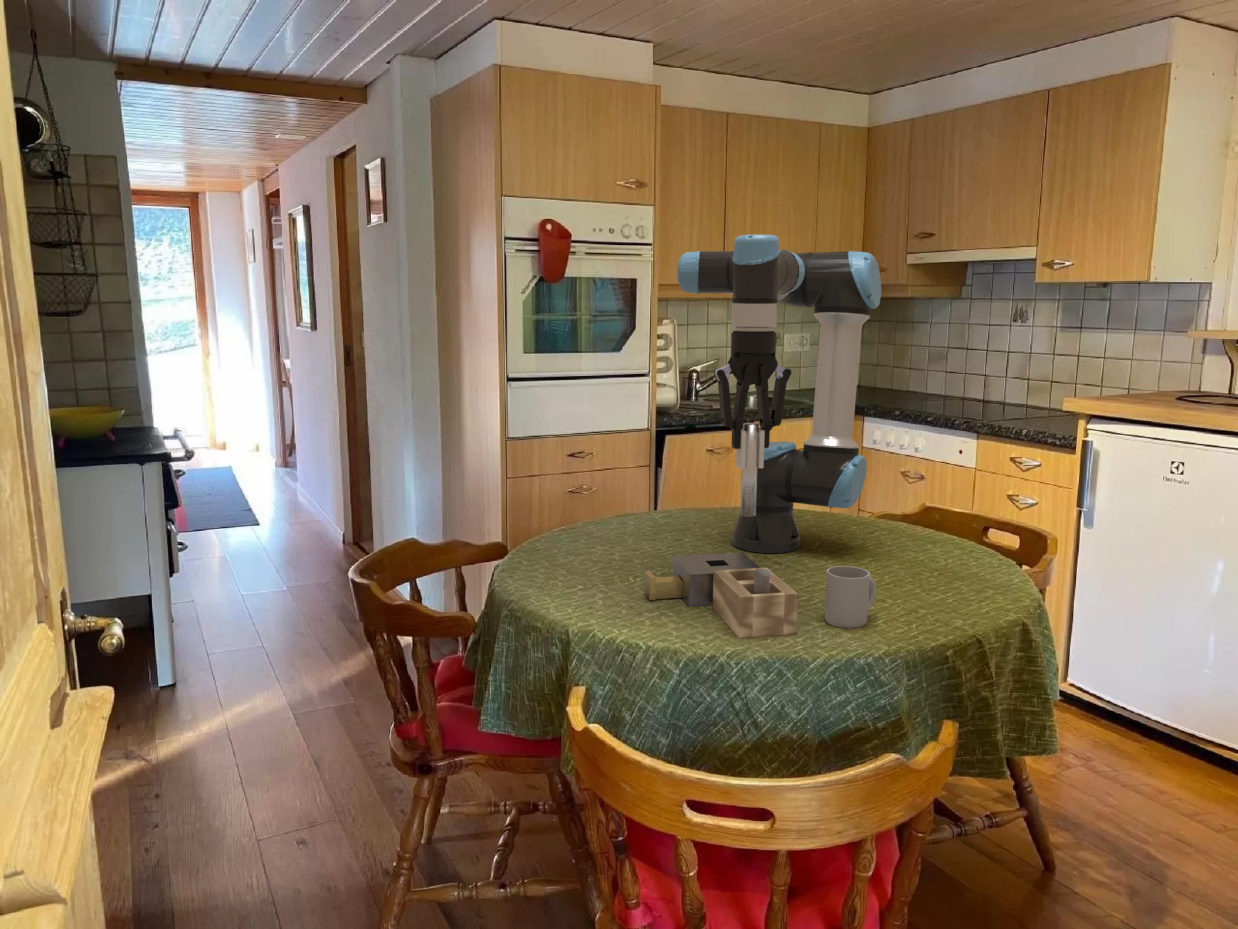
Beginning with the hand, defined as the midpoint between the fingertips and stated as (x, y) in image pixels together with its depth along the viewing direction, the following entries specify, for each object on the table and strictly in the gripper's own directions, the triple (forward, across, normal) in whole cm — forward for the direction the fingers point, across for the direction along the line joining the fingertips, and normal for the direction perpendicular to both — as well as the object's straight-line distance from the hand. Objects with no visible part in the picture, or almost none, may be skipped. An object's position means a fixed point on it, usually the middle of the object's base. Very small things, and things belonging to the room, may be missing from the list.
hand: (749, 466), depth 159 cm
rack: (+27, 0, +4) cm, 27 cm away
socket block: (+27, +2, -11) cm, 29 cm away
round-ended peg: (+9, 0, 0) cm, 9 cm away
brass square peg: (+26, +10, -11) cm, 30 cm away
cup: (+27, -17, +7) cm, 32 cm away
